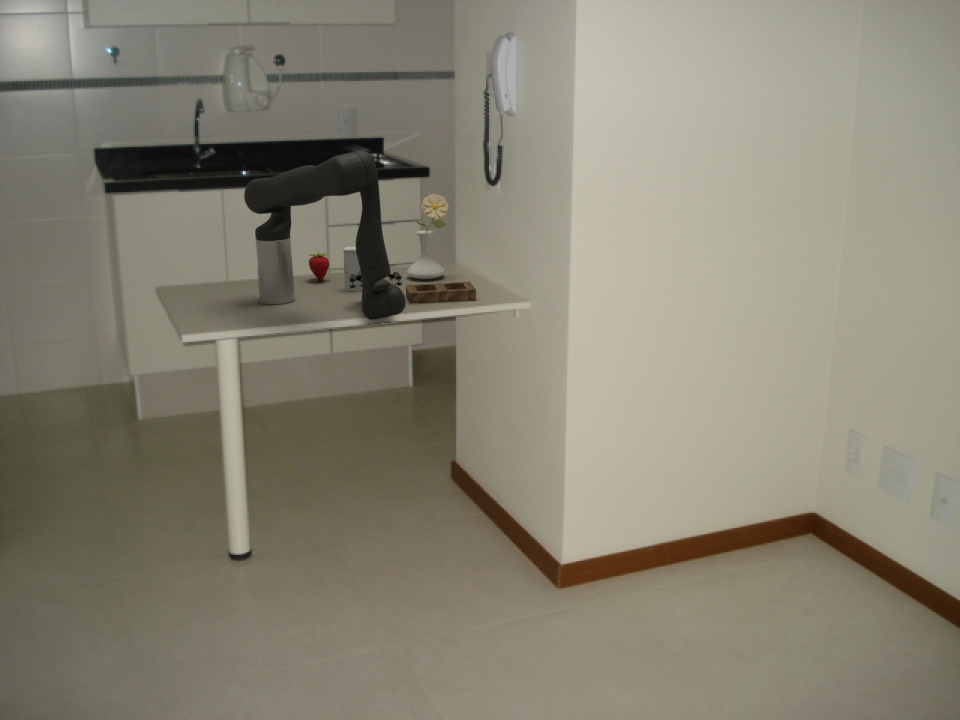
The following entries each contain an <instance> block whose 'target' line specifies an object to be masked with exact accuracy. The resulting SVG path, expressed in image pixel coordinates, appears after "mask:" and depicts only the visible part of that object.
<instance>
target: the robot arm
mask: <svg viewBox="0 0 960 720" xmlns="http://www.w3.org/2000/svg"><path fill="white" fill-rule="evenodd" d="M243 193H244V195H243V197H244V199H243V200H244V203H245V205H246V206H247V208H248V209H249V210H250V211H251V212H253V213H254V214H256V215H257V214H258V215H265V214H266V215H267V214H270V216H269V218H268V219H267V220H266V221H265V222H263V223H262V224H261V225H259V226H257V227H256V228H255V229H254V232H255V233H254V236H255V238H254V239H255V249H256V262H257V278H258V279H257V281H258V291H259V293H258V294H259V303H260V304H267V305H268V304H269V305H279V304H281V305H282V304H287V303H291V302H293V301H295V298H296V297H295V295H296V294H295V285H294V270H293V255H292V242H291V229H292V207H297V206H298V207H299V206H306V205H310V204H315V203H317V202H319V201H321V200H323V199H325V197H338V196H339V197H343V196H350V195H353V194H357V193H359V194H360V199H361V200H360V201H361V215H360V221H359V224H358V227H357V232H356V238H355V247H356V254H357V258H358V262H359V266H360V271H359V273H357V276H355V274H351V275H350V278H349V281H350V288H354V287H356V285H360V286H361V287H362V291H361V301H360V302H361V303H360V304H361V312H362V314H363V315H364V317H365V318H366V319H367V320H369V321H376V320H381V319H384V318H388V317H393V316H396V315H400V314H401V313H403V312H404V310H405V308H406V303H407V301H406V295H405V294H404V292H403V290H402V289H401V288H400V287H401V286H402V285H403V279H402V277H403V276H402V275H401V274H400V273H399V272H397V271H393V273H392V272H391V265H390V262H389V256H388V253H387V248H386V244H385V239H384V234H383V233H384V232H383V224H382V210H381V196H380V195H381V194H380V184H379V175H378V169H377V166H376V162H375V160H374V158H373V157H372V155H371V154H370V153H368V152H367V151H365V150H357V151H352V152H347V153H343V154H339V155H335V156H333V157H331V158H329V159H327V160H325V161H324V162H321V163H319V164H318V165H313V164H312V165H303V166H299V167H296V168H293V169H291V170H287V171H285V172H281V173H280V174H277V175H275V176H273V177H264V178H255V179H252V180H250V181H249V182H248V183H247V185H246V186H245V189H244V192H243Z"/></svg>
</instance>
